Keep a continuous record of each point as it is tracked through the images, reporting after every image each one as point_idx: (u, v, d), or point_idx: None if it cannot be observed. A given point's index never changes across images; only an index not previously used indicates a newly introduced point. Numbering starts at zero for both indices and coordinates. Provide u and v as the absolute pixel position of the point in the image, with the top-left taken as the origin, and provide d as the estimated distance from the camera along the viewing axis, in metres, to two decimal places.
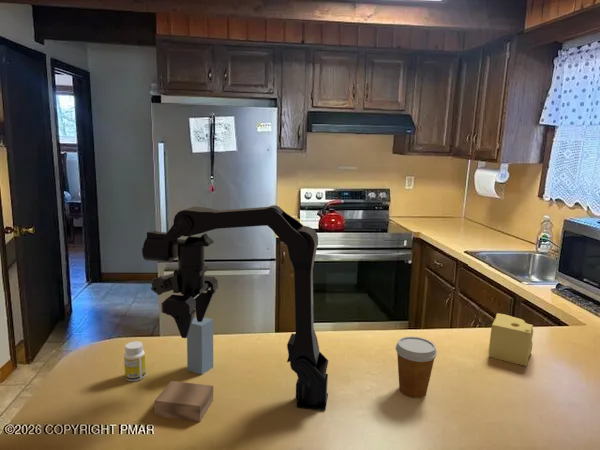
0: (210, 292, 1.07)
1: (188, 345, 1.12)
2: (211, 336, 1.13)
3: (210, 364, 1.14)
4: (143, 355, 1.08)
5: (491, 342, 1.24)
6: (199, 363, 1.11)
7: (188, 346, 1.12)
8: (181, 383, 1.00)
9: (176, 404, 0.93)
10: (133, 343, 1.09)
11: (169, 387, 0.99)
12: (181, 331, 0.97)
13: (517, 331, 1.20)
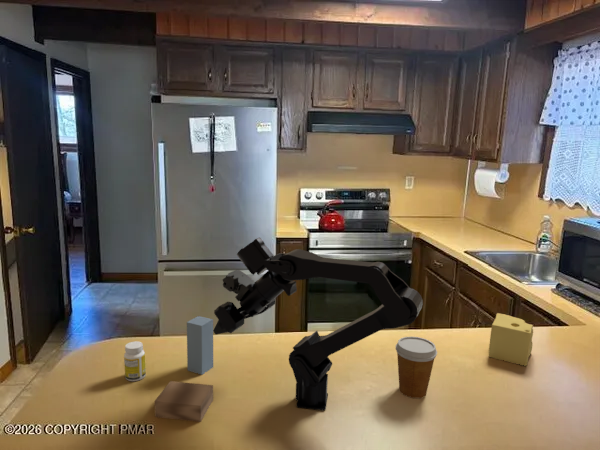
0: None
1: (188, 345, 1.12)
2: (211, 336, 1.13)
3: (210, 364, 1.14)
4: (143, 355, 1.08)
5: (491, 342, 1.24)
6: (199, 363, 1.11)
7: (188, 346, 1.12)
8: (180, 383, 1.00)
9: (176, 404, 0.93)
10: (133, 343, 1.09)
11: (169, 387, 0.99)
12: (216, 328, 1.03)
13: (517, 331, 1.20)
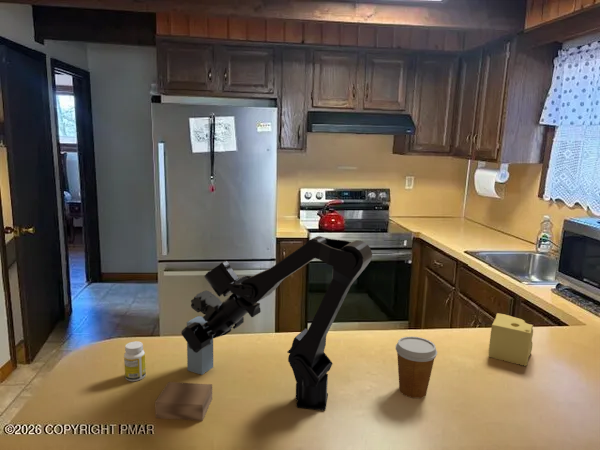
0: None
1: None
2: None
3: (210, 364, 1.14)
4: (143, 355, 1.08)
5: (491, 342, 1.24)
6: (199, 363, 1.11)
7: None
8: (179, 383, 1.00)
9: (177, 404, 0.93)
10: (133, 343, 1.09)
11: (168, 388, 0.98)
12: None
13: (517, 331, 1.20)
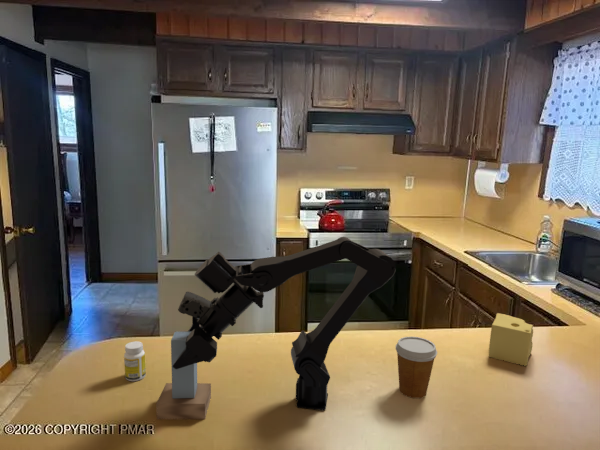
0: None
1: None
2: None
3: (196, 384, 0.98)
4: (143, 355, 1.08)
5: (491, 342, 1.24)
6: (189, 385, 0.94)
7: (173, 369, 0.94)
8: None
9: (179, 404, 0.93)
10: (133, 343, 1.09)
11: (167, 389, 0.98)
12: (178, 362, 0.90)
13: (517, 331, 1.20)
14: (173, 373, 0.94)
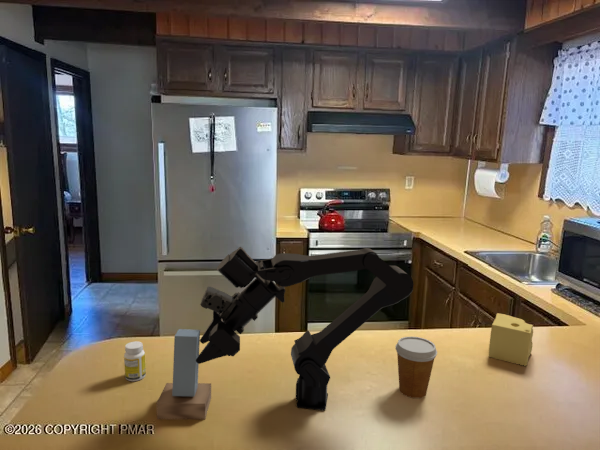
0: None
1: (175, 364, 0.94)
2: (198, 350, 0.98)
3: (197, 384, 0.98)
4: (143, 355, 1.08)
5: (491, 342, 1.24)
6: (190, 383, 0.94)
7: (175, 366, 0.94)
8: None
9: (180, 404, 0.93)
10: (133, 343, 1.09)
11: (167, 389, 0.98)
12: (201, 356, 0.90)
13: (517, 331, 1.21)
14: (175, 370, 0.94)
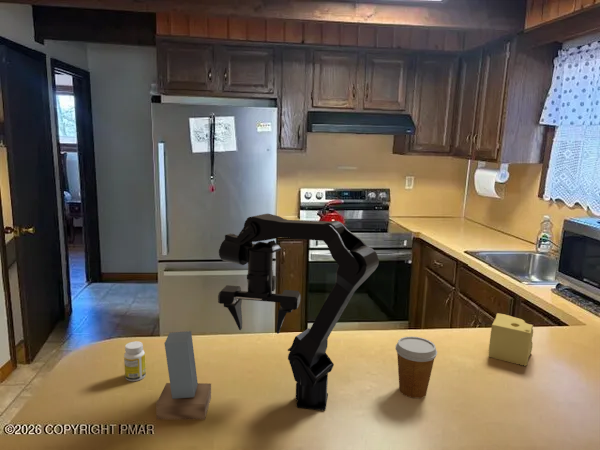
0: None
1: (170, 369, 0.93)
2: (192, 350, 0.96)
3: (196, 382, 0.98)
4: (143, 355, 1.08)
5: (491, 342, 1.24)
6: (188, 385, 0.94)
7: (170, 371, 0.93)
8: None
9: (179, 404, 0.93)
10: (133, 343, 1.09)
11: (167, 389, 0.98)
12: None
13: (517, 331, 1.21)
14: (170, 375, 0.93)
